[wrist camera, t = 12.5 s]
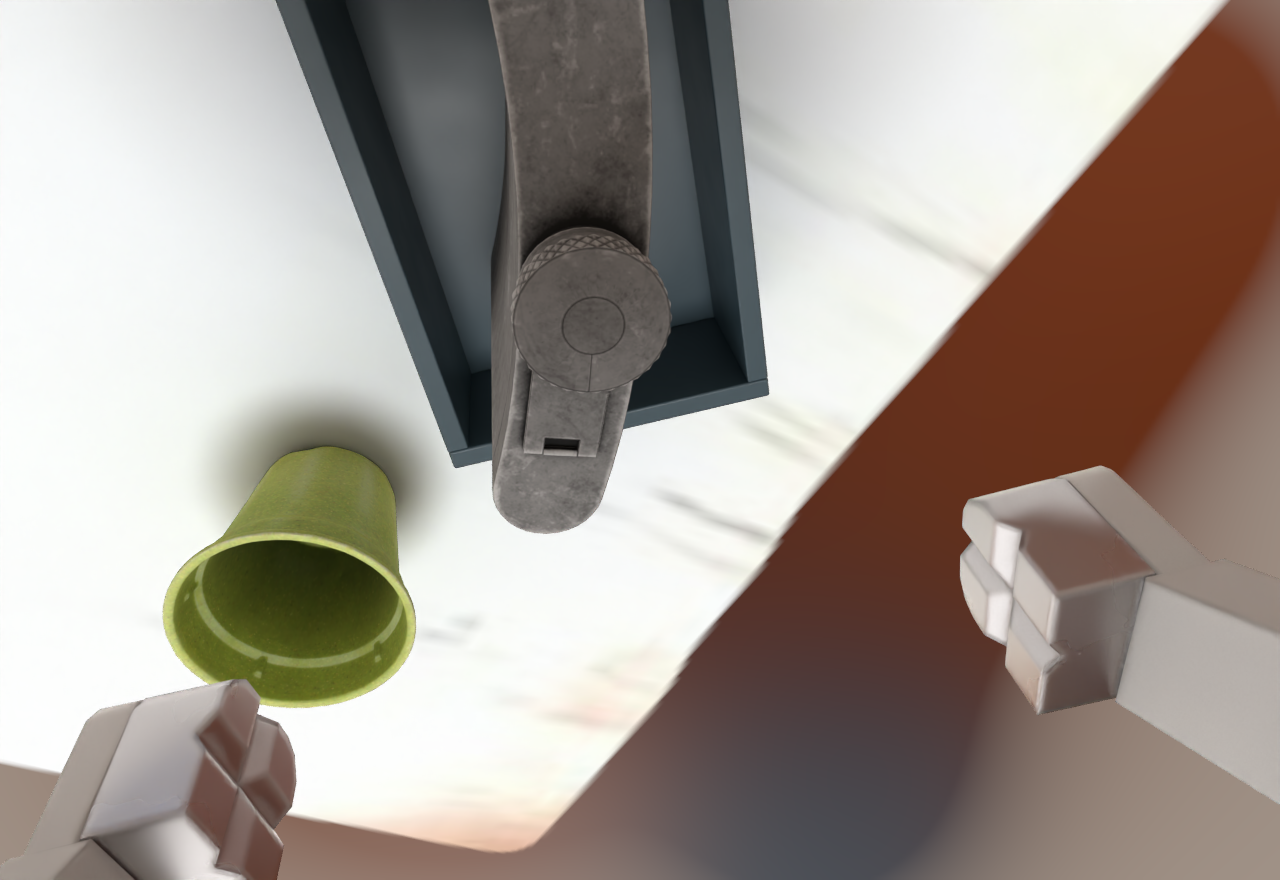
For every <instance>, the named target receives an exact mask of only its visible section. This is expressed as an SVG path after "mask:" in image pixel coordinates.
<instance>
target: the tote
mask: <svg viewBox="0 0 1280 880" xmlns="http://www.w3.org/2000/svg"><path fill="white" fill-rule="evenodd" d="M276 3H277V5H278V8H279V11H280V13H281V16H282V18H283V21H284V24H285V26H286V29H287V32H288V34H289V37H290V39H291V42H292V45H293V47H294V50H295V52H296V55H297V58H298V60H299V63H300V66H301V68H302V71H303V73H304V76H305V79H306V81H307V84H308V86H309V89H310V92H311V94H312V97H313V100H314V102H315V105H316V107H317V110H318V113H319V115H320V118H321V120H322V123H323V126H324V128H325V131H326V134H327V136H328V139H329V141H330V144H331V147H332V149H333V152H334V154H335V157H336V160H337V162H338V165H339V168H340V170H341V173H342V175H343V178H344V181H345V183H346V186H347V188H348V191H349V194H350V196H351V199H352V202H353V204H354V207H355V209H356V212H357V215H358V217H359V220H360V222H361V225H362V228H363V230H364V233H365V236H366V238H367V241H368V243H369V246H370V249H371V251H372V254H373V256H374V259H375V262H376V264H377V267H378V270H379V272H380V275H381V277H382V280H383V283H384V285H385V288H386V290H387V293H388V296H389V298H390V301H391V304H392V306H393V309H394V311H395V314H396V317H397V319H398V322H399V324H400V327H401V330H402V332H403V335H404V338H405V340H406V343H407V345H408V348H409V351H410V353H411V356H412V358H413V361H414V364H415V366H416V369H417V372H418V374H419V377H420V379H421V382H422V385H423V387H424V390H425V392H426V395H427V398H428V400H429V403H430V406H431V408H432V411H433V413H434V416H435V419H436V421H437V424H438V426H439V429H440V432H441V434H442V437H443V440H444V442H445V445H446V447H447V450H448V452H449V455H450V457H451V460H452V463H453V465H454V467H455V468H459V467H464V466H468V465H472V464H476V463H481V462H485V461H489V460H492V363H491V255H492V251H493V246H494V241H495V237H496V231H497V226H498V220H499V214H500V206H501V197H502V188H503V176H504V161H505V89H504V83H503V77H502V71H501V65H500V59H499V53H498V47H497V43H496V38H495V33H494V28H493V23H492V18H491V13H490V8H489V3H488V0H276ZM644 4H645V14H646V24H647V34H648V49H649V64H650V78H651V95H652V137H653V161H652V210H651V230H650V246H649V259H650V262H651V264H652V266H653V267H654V268H656V269H657V271H658V274H659V277H660V278H661V279H662V281H663V284H664V287H665V288H666V290H667V297H668V299H669V301H670V302H671V308H670V312H671V315H672V320H671V324H670V329H671V332H670V334H669V336H668V337H667V343H666V346H665V347H664V349H663V350H662V351H661V354H660V357H659V358H658V359H657V360H656V361H655V362H653V364H652V366H651V368H650V369H649V370H647V371H646V372H644V373H643V374H642V375H641V376H640V377H639V378H638V379H635V380H633V384H632V389H631V395H630V400H629V404H628V409H627V413H626V418H625V422H624V426H623V429H626V428H630V427H634V426H639V425H643V424H647V423H652V422H656V421H660V420H664V419H669V418H673V417H677V416H681V415H686V414H690V413H694V412H699V411H703V410H707V409H711V408H716V407H720V406H724V405H729V404H733V403H737V402H741V401H746V400H750V399H754V398H758V397H763V396H767V395H769V386H768V379H767V366H766V357H765V347H764V338H763V328H762V318H761V309H760V299H759V290H758V280H757V271H756V261H755V252H754V242H753V232H752V223H751V213H750V204H749V194H748V185H747V175H746V165H745V156H744V146H743V137H742V127H741V118H740V108H739V99H738V89H737V79H736V70H735V60H734V51H733V41H732V32H731V22H730V13H729V3H728V0H644Z"/></svg>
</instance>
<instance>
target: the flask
mask: <svg viewBox="0 0 1280 880" xmlns="http://www.w3.org/2000/svg"><path fill="white" fill-rule="evenodd" d="M488 3H489V8H490V13H491V18H492V23H493V28H494V33H495V38H496V43H497V47H498V53H499V59H500V65H501V71H502V77H503V83H504V89H505V161H504V176H503V188H502V197H501V206H500V214H499V220H498V226H497V231H496V237H495V241H494V246H493V251H492V255H491V363H492V490H493V500H494V502H495V505H496V508H497V509H498V511H499V512H500V514H501V515H502V516H503V517H504V518H505V519H506V520H507V521H508V522H509V523H511V524H513V525H514V526H516V527H518V528H520V529H523V530H525V531H529V532H533V533H543V534H548V533H558V532H562V531H566V530H569V529H571V528H574V527H576V526H578V525H579V524H581V523H583V522H584V521H586V520H587V519H588V518H589V517H590V516H591V515H592V514H593V513H594V512H595V510H596V509H597V508H598V506H599V504H600V502H601V500H602V497H603V494H604V491H605V488H606V485H607V482H608V479H609V476H610V473H611V470H612V467H613V463H614V460H615V456H616V453H617V449H618V446H619V442H620V439H621V435H622V431H623V426H624V422H625V418H626V413H627V409H628V404H629V400H630V395H631V389H632V384H633V380H635V379H638V378H639V377H640V376H641V375H642V374H643V373H644V372H646V371H647V370H649V369H650V368H651V366H652V364H653V362H655V361H656V360H657V359H658V358H659V357H660V354H661V351H662V350H663V349H664V347H665V346H666V343H667V337H668V336H669V334H670V332H671V329H670V324H671V320H672V315H671V312H670V308H671V302H670V301H669V299H668V297H667V290H666V288H665V287H664V284H663V281H662V279H661V278H660V277H659V274H658V271H657V269H656V268H654V267H653V266H652V264H651V262H650V259H649V246H650V230H651V210H652V161H653V137H652V95H651V78H650V64H649V49H648V34H647V24H646V14H645V4H644V0H488Z"/></svg>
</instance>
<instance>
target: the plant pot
mask: <svg viewBox="0 0 1280 880" xmlns="http://www.w3.org/2000/svg"><path fill="white" fill-rule="evenodd" d="M163 623H164V629H165V633H166V636H167V638H168V641H169V643H170V644H171V646H172V648H173V651H174V652H175V654H176V656H177V657H178V658H179V659H180V660H181V661H182V663H183V664H184V665H185V666H186V667H187V668H188V669H189V670H190V671H191V672H193V673H194V674H195V675H196V676H198V677H199V678H201V679H202V680H203V681H205V682H206V683H208V684H214V683H218V682H223V681H228V680H232V679H246V680H247V681H248V682H249V683H250V685H251V686H252V687H253V688H254V690H255V691H256V692H257V693H258V695H259V696H260V697H261V700H260V704H261V705H266V706H273V707H286V708H310V707H318V706H327V705H332V704H337V703H341V702H344V701H348V700H351V699H354V698H356V697H359V696H361V695H364V694H366V693H368V692H370V691H372V690H374V689H375V688H377V687H379V686H380V685H382V684H383V683H384V682H386V681H387V680H388V679H390V678H391V677H392V676H393V675H394V674H395V673H396V672H397V671H398V670H399V669H400V668H401V666H402V665H403V664H404V662H405V660H406V659H407V657H408V656H409V654H410V651H411V649H412V647H413V643H414V639H415V633H416V617H415V610H414V606H413V603H412V600H411V598H410V595H409V593H408V591H407V589H406V588H405V586H404V584H403V581H402V578H401V575H400V573H399V560H398V544H397V523H396V501H395V496H394V492H393V490H392V488H391V485H390V483H389V481H388V479H387V477H386V475H385V474H384V473H383V471H382V470H381V469H380V468H379V467H378V466H377V465H375V464H374V463H373V462H372V461H370V460H369V459H367V458H365V457H364V456H362V455H360V454H357V453H355V452H353V451H349V450H346V449H342V448H338V447H330V446H323V447H318V448H314V449H310V450H304V451H298V452H291V453H289V454H287V455H285V456H283V457H282V458H280V459H279V460H278V461H276V462H275V463H274V464H273V465H272V466H271V467H270V469H269V470H268V471H267V473H266V474H265V476H264V477H263V478H262V480H261V481H260V482H259V484H258V485H257V487H256V488H255V490H254V491H253V493H252V494H251V496H250V498H249V499H248V501H247V502H246V503H245V505H244V506H243V508H242V509H241V511H240V512H239V514H238V515H237V516H236V518H235V519H234V521H233V522H232V524H231V525H230V526H229V528H228V529H227V531H226V532H225V533H224V535H223V536H222V537H221V538H220V539H218V540H217V541H216V542H214V543H213V544H211V545H209V546H207V547H206V548H204V549H203V550H201V551H200V552H198V553H197V554H195V555H194V556H193V557H192V558H190V559H189V560H188V561H187V562H186V563H185V564H184V565H183V566H182V567H181V569H180V570H179V571H178V572H177V574H176V576H175V577H174V579H173V580H172V582H171V584H170V586H169V588H168V590H167V593H166V596H165V600H164V605H163Z"/></svg>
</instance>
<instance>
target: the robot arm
mask: <svg viewBox="0 0 1280 880" xmlns="http://www.w3.org/2000/svg"><path fill="white" fill-rule="evenodd" d="M962 527H963V528H964V530H965V531H966V533H967V534H968V535H969V537H970V538H971V540H972V542H971V543H970V544H969V545H968V547H967V548H966V549H965V551H964V552H963V553H962V554H961V556H960V579H961V583H962V587H963V592H964V596H965V600H966V602H967V604H968V607H969V609H970V611H971V613H972V615H973V617H974V619H975V621H976V622H977V624H978V625H979V627H980V628H981V630H982V632H983V633H984V635H986V636H988V637H989V638H991V639H993V640H995V641H997V642H999V643H1001V644H1003V645H1005V646H1007V653H1006V662H1005V667H1006V668H1007V670H1008V671H1009V673H1010V674H1011V676H1012V677H1013V679H1014V680H1015V682H1016V683H1017V685H1018V686H1019V688H1020V689H1021V691H1022V692H1023V694H1024V695H1025V697H1026V698H1027V700H1028V701H1029V703H1030V704H1031V706H1032V707H1033V709H1034V710H1035V712H1036V713H1037V715H1040V714H1045V713H1049V712H1054V711H1058V710H1063V709H1067V708H1072V707H1076V706H1081V705H1085V704H1090V703H1094V702H1099V701H1103V700H1108V699H1112V698H1116V701H1115V702H1116V703H1118V704H1119V705H1121V706H1123V707H1124V708H1126V709H1128V710H1129V711H1131V712H1132V713H1134V714H1135V715H1137V716H1139V717H1140V718H1142V719H1144V720H1145V721H1147V722H1148V723H1150V724H1152V725H1153V726H1155V727H1156V728H1158V729H1159V730H1161V731H1163V732H1164V733H1166V734H1167V735H1169V736H1171V737H1173V738H1174V739H1175V740H1177V741H1179V742H1180V743H1182V744H1184V745H1185V746H1187V747H1188V748H1190V749H1191V750H1193V751H1195V752H1196V753H1198V754H1200V755H1201V756H1203V757H1204V758H1206V759H1207V760H1209V761H1211V762H1212V763H1214V764H1215V765H1217V766H1219V767H1220V768H1222V769H1223V770H1225V771H1227V772H1228V773H1230V774H1232V775H1233V776H1235V777H1236V778H1238V779H1239V780H1241V781H1243V782H1244V783H1246V784H1248V785H1249V786H1251V787H1252V788H1254V789H1255V790H1257V791H1259V792H1260V793H1262V794H1263V795H1265V796H1267V797H1268V798H1270V799H1271V800H1273V801H1275V802H1276V803H1278V804H1279V805H1280V579H1279V578H1276V577H1273V576H1270V575H1268V574H1265V573H1262V572H1259V571H1257V570H1254V569H1251V568H1248V567H1246V566H1243V565H1240V564H1238V563H1235V562H1232V561H1229V560H1227V559H1222V560H1217V561H1212V562H1210V561H1209V560H1208V559H1207V558H1206V557H1205V556H1204V555H1203V554H1202V553H1200V552H1199V551H1198V550H1197V549H1196V548H1195V547H1194V546H1193V545H1192V544H1191V543H1190V542H1189V541H1188V540H1186V538H1185V537H1183V536H1182V535H1181V534H1180V533H1179V532H1178V531H1177V530H1176V529H1175V528H1174V527H1173V526H1172V525H1171V524H1170V523H1169V522H1167V521H1166V520H1165V519H1164V518H1163V517H1162V516H1161V515H1160V514H1159V513H1158V512H1157V511H1156V510H1154V508H1153V507H1151V506H1150V505H1149V504H1148V503H1147V502H1146V501H1145V500H1144V499H1143V498H1142V497H1141V496H1140V495H1139V494H1138V493H1137V492H1135V491H1134V490H1133V489H1132V488H1131V487H1130V486H1129V485H1128V484H1127V483H1126V482H1125V481H1124V480H1123V479H1122V478H1120V477H1119V476H1118V475H1117V474H1116V473H1115V472H1114V471H1113V470H1111V469H1108V468H1106V467H1103V466H1098V467H1094V468H1090V469H1087V470H1082V471H1079V472H1074V473H1070V474H1066V475H1062V476H1059V477H1056V478H1055V479H1047V480H1044V481H1040V482H1035V483H1032V484H1028V485H1024V486H1020V487H1016V488H1012V489H1008V490H1004V491H1000V492H996V493H992V494H988V495H984V496H980V497H976V498H973V499H969V500H968V502H967V504H966V506H965V508H964V511H963V522H962ZM260 700H261V697H260V696H259V695H258V693H257V692H256V691H255V690H254V688H253V687H252V686H251V685H250V683H249V682H248V681H247V680H246V679H232V680H228V681H223V682H218V683H214V684H209V685H205V686H200V687H196V688H191V689H186V690H182V691H177V692H173V693H168V694H163V695H159V696H154V697H150V698H146V699H144V700H141V701H136V702H131V703H127V704H122V705H117V706H113V707H108V708H103V709H100V710H99V711H97V712H96V713H95V714H94V715H93V716H92V717H90V718H89V719H88V720H87V721H86V723H85V724H84V727H83V729H82V731H81V733H80V735H79V737H78V739H77V741H76V743H75V746H74V748H73V750H72V752H71V754H70V756H69V758H68V760H67V762H66V765H65V767H64V769H63V771H62V773H61V775H60V777H59V779H58V782H57V784H56V786H55V788H54V790H53V792H52V794H51V796H50V798H49V801H48V803H47V805H46V807H45V809H44V811H43V813H42V815H41V818H40V819H39V822H38V824H37V826H36V828H35V830H34V832H33V834H32V836H31V838H30V841H29V843H28V845H27V847H26V849H25V852H24V853H23V855H22V856H19V857H15V858H12V859H8V860H6V861H5V862H4V863H3V864H2V865H1V866H0V880H277V876H278V871H279V866H280V862H281V857H282V852H283V847H284V845H283V843H282V842H281V840H280V839H279V837H278V835H277V834H276V832H275V831H274V828H275V827H276V826H277V825H278V824H279V822H280V821H281V820H282V818H283V817H284V816H285V815H286V813H287V812H288V811H289V810H290V808H291V807H292V803H293V798H294V792H295V786H296V769H295V755H294V752H293V749H292V746H291V744H290V741H289V738H288V736H287V734H286V733H285V731H284V730H283V728H282V727H281V726H280V724H279V723H278V722H275V721H273V720H270V719H268V718H266V717H263V716H261V715H258V714H257V712H258V708H259V704H260Z"/></svg>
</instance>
